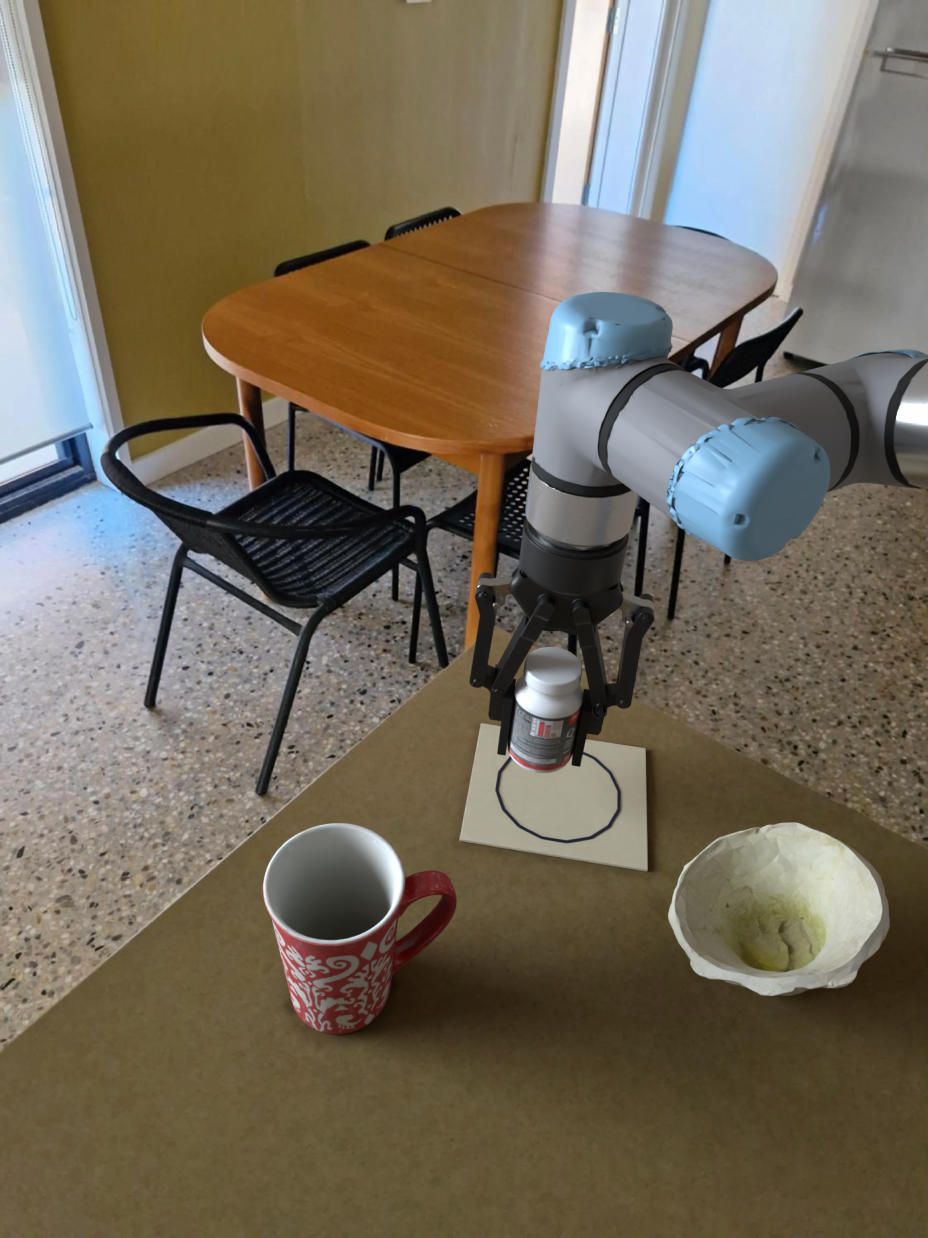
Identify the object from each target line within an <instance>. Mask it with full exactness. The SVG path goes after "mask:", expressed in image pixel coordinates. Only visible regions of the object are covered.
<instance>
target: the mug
mask: <svg viewBox="0 0 928 1238" xmlns="http://www.w3.org/2000/svg"><path fill="white" fill-rule="evenodd" d="M262 883H263V884H262V895H263V900H264V905H265V908H266V910H267V912H268V914H269V916H270V918H271V920H272V926H273V930H274V934H275V938H276V941H277V946H278V949H279V954H280V958H281V962H282V966H283V972H284V975H285V978H286V982H287V987H288V992H289V996H290V1000H291V1003H292V1006H293V1009H294V1011H295V1012H296V1014H297V1016H298V1017H299V1018H300V1020H301V1021H303V1022H304V1023H305V1024H306V1025H307V1026H308V1027H310V1028H311V1029H314V1030H316V1031H318V1032H321V1033H323V1034H329V1035H344V1034H346V1035H347V1034H349V1033H354V1032H356V1031H359V1030H361V1029H363V1028H364V1027H366V1026H367V1025H369V1024H370V1023H371V1022H372V1021H374V1020H375V1019H376V1018H377V1017H378V1015H380V1014H381V1012H382V1011H383V1009H384V1007H385V1005H386V1003H387V1002H388V999H389V996H390V993H391V987H392V979H393V978H392V977H393V975H394V974H395V973H396V972H397V971H398V970H400V969H401V968H402V967H403V966H405V965H406V964H408V963H409V962H410V961H412V960H413V959H414V958H416V957H417V956H418V955H419V954H421V952H423V951H424V950H425V949H426V948H427V947H429V945H430V944H431V943H432V942H434V941H435V940H436V939H437V937H438V936H440V935H441V934H442V932H444V930H445V929H446V928H447V927H448V925H449V924H450V922H451V921H452V919H453V918H454V915H455V913H456V909H457V903H458V900H457V893H456V889H455V887H454V884H453V882H452V880H451V878H450V877H449V876H448V874H446V873H445V872H442V871H440V870H431V869H430V870H428V869H427V870H423V871H418V872H415V873H412V874H410V875H408V876H406V871H405V869H404V865H403V862H402V860H401V857H400V855H399V854H398V852H397V851H396V849H395V848H394V847H393V845H391V843H390V842H389V841H388V840H387V839H386V838H385V837H383V836H382V835H380V834H379V833H378V832H376V831H373V830H372V829H370V828H368V827H364V826H362V825H357V824H354V823H345V822H333V823H325V824H320V825H316V826H312V827H310V828H307V829H305V830H303V831H300V832H299V833H296V834H295V835H294V836H291V837H290V838H289V839H288V840H286V841H285V842H284V843H283V844H282V845H281V846H280V847H279V848H278V849H277V850H276V852H275V853H274V855H272V857H271V859H270V861H269V863H268V864H267V867H266V870H265V873H264V877H263V882H262ZM430 896H441V897H440V899H439V901H438V902H437V903H436V905H435V906H434V907H433V908H432V909H431V911H430V912H429V913H428V914H427V915H425V916H424V918H423V919H422V920H421V921H420V922H419V923H418V924H416V926H414V927H413V928H412V929H411V930H410V931H409V932H408V933H407V934H405V935H404V936H402V937H401V938H399V939H398V940H397V934H398V933H397V932H398V923H399V918H400V917H402V916H403V915H404V914H405V912H406V910H407V909H408V908H409V907H410V906H411V905H412V904H414V903H415V902H418V901H420V900H421V899H423V898H426V897H430Z"/></svg>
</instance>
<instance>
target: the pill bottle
mask: <svg viewBox="0 0 928 1238" xmlns="http://www.w3.org/2000/svg"><path fill="white" fill-rule="evenodd" d="M582 674H583V665H582V661H581V660H580V659H579V658H578V657H577V656H576V655H575V654H573V652H571V651H569V650H567V649H564V648H561V647H558V646H557V647H555V646H544V647H539V648H537V649H533V651H531V652H530V653H528V654H527V656H526V657H525V659H524V665H523V670H522V674H521V676H520V677H519V678H518V679H517V680H516V685H515V691H514V698H513V706H512V714H511V721H510V728H509V736H508V751H509V754H510V756H511V758H512V759H513V760H514V761H515V763H517V764H518V765H519V766H520V767H522V768H524V769H526V770H528V771H531V772H535V773H551V772H555V771H558V770H560V769H562V768H563V767H564V766H566V765H567V763H568V762H569V761H570V759H571V756H572V753H573V748H574V743H575V738H576V733H577V727H578V723H579V718H580V712H581V707H582V702H583V688H582V686H581V681H582V676H583V675H582Z"/></svg>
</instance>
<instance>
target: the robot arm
mask: <svg viewBox="0 0 928 1238" xmlns="http://www.w3.org/2000/svg"><path fill="white" fill-rule="evenodd" d="M549 321H550V322H549V327H548V332H547V336H546V341H545V347H544V353H543V357H542V360H541V361H540V364H539V365H540V367H539V368H540V370H541V373H540V383H539V392H538V400H537V410H536V419H535V427H534V436H533V447H532V457H531V463H530V465H529V466H530V467H529V476H528V482H527V483H528V484H527V492H526V499H525V500H526V502H525V509H524V510H525V513H524V514H525V519H524V521H523V524H522V525H523V527H522V534H521V542H520V544H521V545H520V549H519V550H520V551H519V559H518V565H517V566H516V568H514V570H513V571H512V573H511V575H510V576H503V577H502V576H501V577H495V576H494V575H493V573H491V572H488V571H484V572H482V573H480V574H479V576H478V579H477V585H476V588H475V593H474V599H475V603H476V606H477V610H478V614H479V619H478V624H477V629H476V630H477V631H476V637H475V643H474V651H473V656H472V663H471V668H470V675H469V681H468V682H469V685H470V686H471V687H473V688H475V689H480V688H484V689H487V690H488V691H489V693H490V695H489V703H488V704H489V705H488V714H487V716H488V718H489V720H490V721H496V722H500V725H499V726H500V734H499V743H498V751H497V754H498V755H505V756H506V750H507V743H508V736H509V728H510V721H511V714H512V706H513V698H514V691H515V686H516V683H517V678H516V675H517V673H518V672H519V671H520V668H521V666H522V665H523V663H524V662H525V660H526V658H527V656H528V655H529V652H530V651H531V649H532V647H533V645H534V643H536V642H537V641H538V639H539V637H540V635H541V633H542V632H548V633H549V632H551V633H552V632H562V633H564V634H567V635H571V636H577V639H578V645H579V649H580V650H581V655H582V660H583V665H584V669H585V671H584V672H585V675H586V681H587V685H588V688H583V689H582V691H583V702H582V707H581V712H580V718H579V723H578V727H577V733H576V738H575V743H574V748H573V753H572V765H571V766H578V767H580V766H581V761H582V756H583V751H584V747H585V742H586V739H587V737H588V735H593V736H599V734H600V733H601V732H602V729H603V726H604V725H603V724H604V720H605V718H606V716H607V715H608V709H609V708H611V707H615V706H616V707H617V708H619V709H621V710H626V709H628V708H630V707H631V705H632V701H633V697H634V690H635V684H636V678H637V672H638V667H639V662H640V655H641V651H642V644H643V640H644V639H643V638H644V637H645V635H646V634H647V632H648V631H649V629H650V628H651V627H652V625H653V624H654V622H655V599H654V596H653V595H652V594H650V593H642V594H639V596H636V595H634V594H631V593H628V592H626V591H625V590H624V585H623V584H622V581H621V578H622V573H623V569H624V563H625V559H626V554H627V551H628V545H629V540H630V534H629V533H630V531H631V528H632V527H633V522H634V517H635V513H636V507H637V502H638V497H641V498H642V499H643V500H645V501H646V502H647V503H649V504H650V505H651V506H653V507H654V508H656V509H657V510H658V511H660V512H661V513H663V514H664V515H665V516H667V517H668V518H670V519H671V520H672V521H674V523H676V525H677V526H678V527H679V529H681V530H683V532H685V533H686V534H687V535H689V536H692V537H694V538H696V539H697V540H702V541H704V542H706V543H708V544H709V545H710V546H713V547H714V548H715V549H717V550H719V551H720V552H722V553H724V554H725V555H727V556H729V557H730V558H731V559H735V560H738V561H744V562H756V561H761V560H765V559H768V558H770V557H772V556H775V555H777V554H778V553H780V552H781V551H783V549H784V548H785V547H786V545H787V543H788V542H789V541H791V540H795V539H797V538H799V537H800V536H801V535H802V534H803V533H804V532H805V530H806V529H807V528H808V527H809V526H810V524H811V523H812V521H814V518H815V517H816V515H817V514H818V513H819V510H820V509H821V507H822V504H823V502H824V500H825V498H826V496H827V493H831V492H833V491H836V490H839V489H842V488H845V487H847V486H852V485H856V484H873V485H883V486H890V487H900V488H906V489H907V488H908V489H918V490H921V489H925V490H928V354H927V353H925V352H922V351H920V350H916V349H910V348H901V349H888V350H878V351H868V352H863V353H859V354H857V355H856V356H853V357H852V358H848V359H846V360H843V361H839V362H835V363H831V364H826V365H824V366H819V367H816V368H811V369H808V370H804V371H798V372H795V373H790V374H786V375H782V376H779V377H774V378H769V379H765V380H762V381H758V382H757V381H756V382H753V383H750V384H745V385H740V386H737V387H733V388H724V387H719V386H717V385H715V384H713V383H712V382H709V381H707V380H706V379H703V378H701V377H699V376H698V375H696V374H694V373H692V372H690V371H688V370H686V369H685V368H683V367H682V366H681V365H680V364H679V365H678V364H677V363H675V362H674V361H671V360H670V359H669V355H670V354H671V353H672V349H673V348H674V346H673V344H672V336H673V329H674V325H673V323H674V322H673V320H672V318H671V316H670V315H669V313H667V311H666V309H664V307H663V306H661V305H660V304H658V303H656V302H654V301H652V300H650V299H648V298H643V297H642V296H637V295H633V294H628V293H622V292H615V291H591V292H586V293H579V294H574V295H573V296H570V297H568V298H566V299H564V300H563V301H561V302H559V304H558V305H557V306H556V307H555V309H554V311H553V312H552V314H551V317H550V320H549ZM509 595H511V596H512V597H513V598H514V600H515V601H516V603H517V604H518V605H519V607H520V608H521V610H522V612H523V615H522V618H521V620H520V622H519V624H518V626H517V627H516V629H515V631H514V633H513V635H512V636H511V639H510V641H509V642H508V644H507V646H506V648H505V650H504V651H503V653H502V655H501V657H500V659H499V661H498V662H497V663H495V666H492V665H490V664H489V660H490V654H491V648H492V642H493V637H494V631H495V625H496V621H497V620H496V618H497V614H498V613H497V612H498V610H499V609H500V608H501V607H503V606H504V605H505V602H506V598H507V597H508V596H509ZM617 610H620V611H621V621H622V623H623V624H625V625H624V632H623V637H622V644H621V650H620V657H619V663H618V671H617V676H616V681H615V682H610V683H608V678H607V672H606V668H605V661H604V655H603V650H602V645H601V639H600V632H599V627H598V625H599V624H601V623H602V622H603V621H605V619H607V618H608V617H610V616H611V615H612V614H614V613H615V612H616V611H617Z"/></svg>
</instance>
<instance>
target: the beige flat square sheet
mask: <svg viewBox="0 0 928 1238" xmlns="http://www.w3.org/2000/svg"><path fill="white" fill-rule="evenodd" d="M500 726H501V725H498V724H497V725H496V724H490V723H483V722H481V723H480V727H479V733H478V737H477V743H476V748H475V754H474V758H473V765H472V770H471V775H470V781H469V787H468V792H467V797H466V801H465V802H466V803H465V808H464V813H463V819H462V823H461V830H460V835H459V842H461V843H463V842H464V843H470V844H474V845H480V846H481V845H482V846H486V847H494V848H499V849H504V850H505V849H507V850H511V851H517V852H524V853H529V854H536V855H543V856H549V857H555V858H562V859H567V860H572V861H578V862H584V863H590V864H591V863H592V864H598V865H604V866H610V867H616V868H621V869H622V868H623V869H627V870H634V871H639V872H646V873H647V872H648V869H649V867H648V866H649V864H648V863H649V861H648V858H649V857H648V805H647V802H648V801H647V755H646V753H647V751H646V748H645V747H640V746H632V745H626V744H620V743H614V742H613V743H612V742H608V741H601V740H594V739H587V738H586V742H585V747H584V751H583V756H582V761H581V766H580V767H578V766H571V765H572V756H571V759H570V761H569V762H568V763H567V765H566V766H564V767H563V768H562V769H560V770H558V771H555V772H551V773H535V772H531V771H528V770H526V769H524V768H522V767H520V766H519V765H518V764H517V763H515V761H514V760H513V759H512V758H511V756H510V754H509V751H508V743H507V750H506V756H505V755H498V754H497V751H498V743H499V734H500Z"/></svg>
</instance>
